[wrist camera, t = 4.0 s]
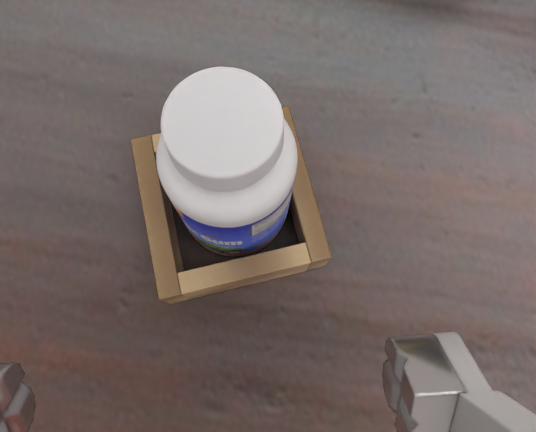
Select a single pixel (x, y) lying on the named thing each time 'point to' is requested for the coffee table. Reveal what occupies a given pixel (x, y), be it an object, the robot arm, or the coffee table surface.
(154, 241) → the frame
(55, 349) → the coffee table surface
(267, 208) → the pill bottle
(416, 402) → the robot arm
